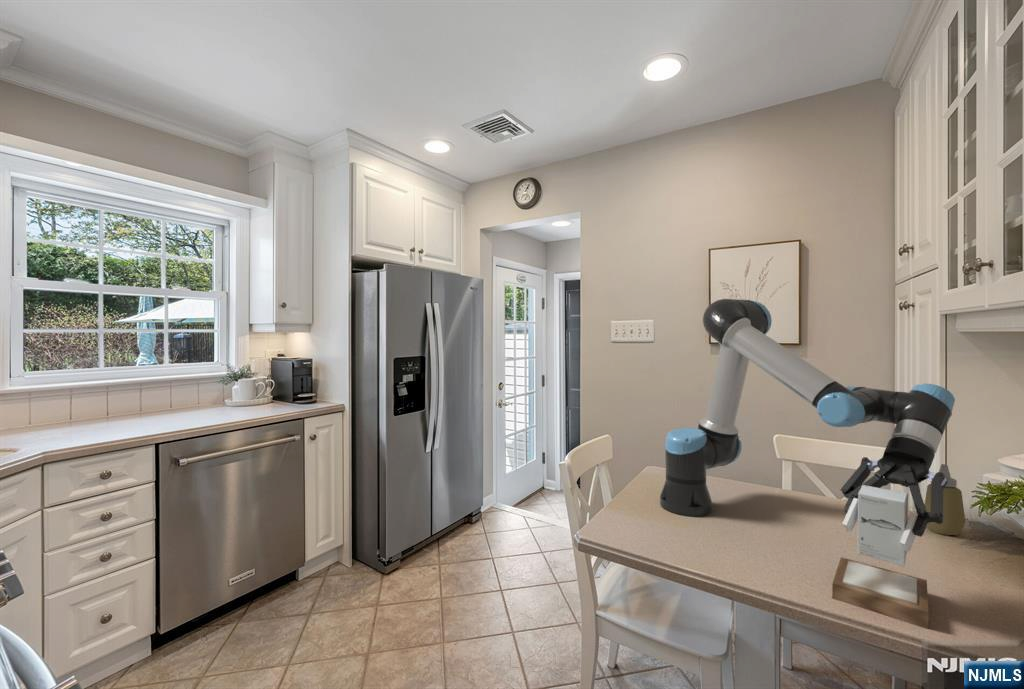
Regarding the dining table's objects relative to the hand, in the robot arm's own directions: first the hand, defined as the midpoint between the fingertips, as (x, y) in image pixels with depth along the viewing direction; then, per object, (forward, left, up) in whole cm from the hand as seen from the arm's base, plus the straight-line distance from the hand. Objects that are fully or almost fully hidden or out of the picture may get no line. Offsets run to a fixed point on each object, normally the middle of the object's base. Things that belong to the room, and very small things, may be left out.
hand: (874, 537), depth 87 cm
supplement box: (+1, +3, -4) cm, 5 cm away
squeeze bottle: (+12, +52, -13) cm, 55 cm away
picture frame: (+1, +3, -13) cm, 13 cm away
